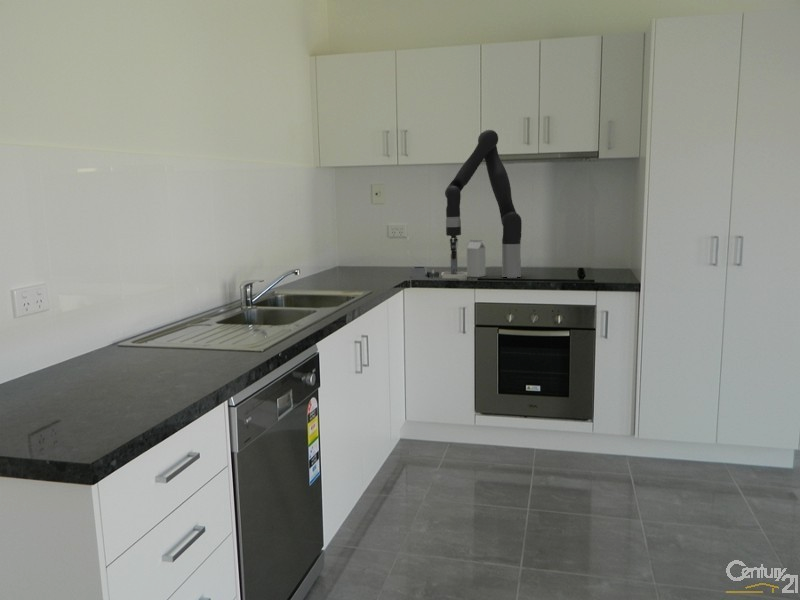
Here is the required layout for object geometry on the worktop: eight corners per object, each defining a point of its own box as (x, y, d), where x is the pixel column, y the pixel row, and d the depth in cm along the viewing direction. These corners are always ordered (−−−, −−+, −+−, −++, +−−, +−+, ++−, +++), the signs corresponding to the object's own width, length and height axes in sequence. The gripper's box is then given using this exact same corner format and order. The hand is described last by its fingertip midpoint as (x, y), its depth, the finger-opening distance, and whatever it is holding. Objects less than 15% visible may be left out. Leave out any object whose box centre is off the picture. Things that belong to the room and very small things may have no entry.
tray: (467, 277, 348) (467, 271, 348) (466, 280, 336) (466, 274, 336) (442, 277, 350) (442, 271, 349) (440, 280, 338) (440, 274, 338)
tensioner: (440, 277, 350) (440, 266, 349) (439, 280, 340) (438, 268, 339) (413, 277, 352) (413, 266, 351) (411, 280, 342) (411, 268, 341)
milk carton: (478, 277, 346) (478, 240, 343) (466, 276, 351) (466, 240, 348) (485, 276, 352) (485, 239, 349) (473, 275, 356) (473, 239, 353)
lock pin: (457, 277, 344) (457, 253, 342) (457, 277, 341) (457, 254, 339) (450, 277, 345) (450, 253, 343) (450, 277, 341) (450, 254, 340)
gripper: (460, 226, 331) (461, 259, 334) (461, 224, 345) (462, 256, 348) (445, 226, 332) (446, 259, 335) (446, 225, 346) (447, 256, 349)
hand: (454, 257), depth 341 cm, fingers open, 8 cm apart
